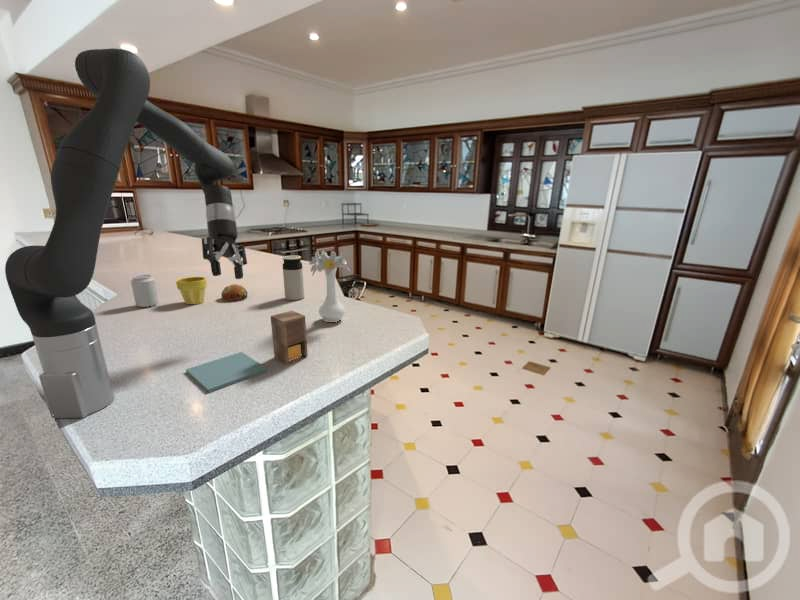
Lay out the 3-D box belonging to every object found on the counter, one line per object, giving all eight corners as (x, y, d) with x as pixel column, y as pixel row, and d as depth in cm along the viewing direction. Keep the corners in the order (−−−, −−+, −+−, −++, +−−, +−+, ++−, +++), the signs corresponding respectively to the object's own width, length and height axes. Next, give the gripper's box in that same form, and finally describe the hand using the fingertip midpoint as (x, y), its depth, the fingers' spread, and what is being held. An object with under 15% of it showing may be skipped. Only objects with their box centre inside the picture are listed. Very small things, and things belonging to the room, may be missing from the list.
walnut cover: (307, 356, 97) (305, 315, 93) (287, 364, 92) (283, 321, 89) (294, 349, 101) (291, 310, 97) (274, 357, 96) (270, 315, 93)
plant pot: (181, 300, 146) (177, 277, 143) (209, 297, 150) (206, 275, 147) (178, 307, 137) (174, 283, 134) (208, 304, 141) (204, 280, 138)
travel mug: (305, 299, 149) (302, 258, 144) (286, 301, 146) (282, 258, 141) (303, 295, 156) (300, 254, 151) (284, 296, 153) (281, 255, 148)
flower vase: (337, 310, 136) (334, 245, 129) (358, 324, 122) (357, 252, 115) (304, 315, 130) (300, 248, 122) (323, 331, 115) (319, 255, 108)
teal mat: (267, 371, 89) (266, 368, 88) (208, 392, 79) (208, 389, 78) (241, 354, 97) (241, 351, 97) (186, 372, 87) (185, 369, 87)
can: (147, 309, 134) (141, 278, 131) (131, 307, 136) (124, 277, 132) (163, 303, 141) (158, 274, 138) (148, 302, 143) (142, 273, 139)
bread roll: (244, 302, 156) (238, 285, 156) (253, 297, 150) (248, 279, 150) (221, 307, 149) (215, 289, 149) (230, 302, 142) (224, 283, 142)
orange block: (301, 357, 97) (300, 343, 96) (288, 361, 94) (287, 348, 93) (293, 352, 99) (292, 339, 98) (280, 357, 96) (279, 344, 95)
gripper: (212, 212, 93) (220, 271, 92) (249, 225, 107) (256, 277, 106) (190, 219, 95) (197, 277, 94) (229, 231, 109) (235, 281, 108)
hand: (228, 277), depth 100 cm, fingers open, 8 cm apart
